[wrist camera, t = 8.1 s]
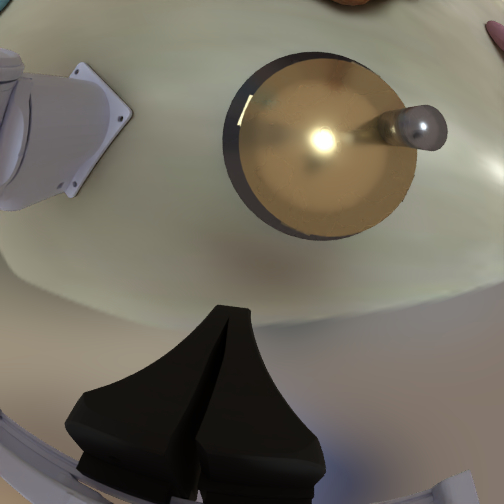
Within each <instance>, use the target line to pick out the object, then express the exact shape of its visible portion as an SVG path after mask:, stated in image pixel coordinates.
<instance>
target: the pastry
mask: <svg viewBox="0 0 504 504" xmlns="http://www.w3.org/2000/svg"><path fill="white" fill-rule="evenodd" d="M332 1H335V2H337V3H339V4H341V5H352V6H354V5H362V4H366V2H368V1H370V0H332Z"/></svg>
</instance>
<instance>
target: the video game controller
mask: <svg viewBox="0 0 504 504" xmlns="http://www.w3.org/2000/svg"><path fill="white" fill-rule="evenodd" d="M486 28H487V31H488V33H489V34H490V36H491V37H492V39H493V40H494V41H495V42H496V44H497V45H498V46H499V47H500V48H501V49H502V50H503V51H504V26H503V25H501V24H499V23H497V22H495V21H488V22H487V24H486Z"/></svg>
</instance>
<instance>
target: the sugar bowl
mask: <svg viewBox="0 0 504 504" xmlns="http://www.w3.org/2000/svg"><path fill="white" fill-rule="evenodd" d="M9 1H10V0H0V11H1V10H2V9H3V8H4V7H5V6H6V5H7V3H8V2H9Z"/></svg>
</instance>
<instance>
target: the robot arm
mask: <svg viewBox="0 0 504 504" xmlns="http://www.w3.org/2000/svg"><path fill="white" fill-rule="evenodd" d="M24 67H25V66H24V64H23V62H22V60H21V57H20V55H19V54H18V53H16V52H14V51H11V50H8V49H4V48H0V210H4V211H17V210H21V209H24V208H26V207H28V206H31V205H33V204H35V203H38V202H40V201H42V200H45V199H47V198H50V197H52V196H55V195H57V194H60V193H63V192H65V193H66V195H67V196H68V197H69V198H73V197H75V195H76V194H77V192H78V191H79V189H80V187H81V186H82V184H83V183H84V181H85V179H86V178H87V176H88V175H89V173H90V172H91V170H92V169H93V167H94V166H95V164H96V163H97V161H98V160H99V159H100V157H101V156H102V154H103V153H104V152H105V150H106V149H107V147H108V146H109V145H110V143H111V142H112V141H113V139H114V138H115V137H116V136H117V134H118V133H119V132H120V130H121V129H122V128H123V127H124V125H125V124H126V123H127V122H128V120H129V119H130V118H131V116H132V110H131V109H130V108H129V107H128V106H127V105H126V103H125V102H124V101H123V100H122V99H121V98H120V97H119V96H118V95H117V94H116V93H115V92H114V91H113V90H112V89H111V88H110V87H109V86H108V85H107V84H106V83H105V82H104V81H103V80H102V79H101V78H100V77H99V76H98V75H97V74H96V73H95V72H94V71H93V70H92V69H91V68H90V67H89V66H88V65H87V63H85V62H80V63H79V64H78V65H77V66H76V68H75V69H74V71H73V72H72V73H71V75H70V76H69V78H68V77H61V76H53V75H44V74H34V73H23V70H24ZM78 71H79V73H78V74H77V72H78ZM122 116H123V121H122V122H121V121H120V118H121V117H122ZM76 183H77V186H76ZM65 428H66V430H67V432H68V433H69V435H70V436H71V437H72V438H73V440H74V441H75V442H76V443H77V444H78V446H79V447H80V448H81V449H82V450H83V451H84V452H83V454H82V456H81V458H80V461H77V460H75V459H73V458H72V457H70V456H68V455H66V454H64V453H62V452H60V451H59V450H57V449H55V448H54V447H52V446H50V445H48V444H47V443H45V442H44V441H42V440H40V439H39V438H37V437H36V436H34V435H33V434H31V433H29V432H28V431H27V430H25V429H24V428H22V427H21V426H20V425H18V424H17V423H16V422H14V421H13V420H11V419H10V418H9V417H8V416H6V415H5V414H4V413H2V411H1V409H0V476H1V477H2V478H3V479H4V480H5V481H6V482H7V483H8V484H10V485H11V486H12V487H13V488H14V489H15V490H16V491H18V492H19V493H20V494H21V495H22V496H24V497H25V498H26V499H27V500H29V501H30V502H31V503H33V504H113V503H112V502H110V501H108V500H107V499H105V498H104V497H103V496H102V495H101V494H99V493H98V492H96V491H94V490H92V489H91V488H89V487H87V486H85V485H83V484H82V483H80V482H79V481H81V482H83V483H85V484H87V485H89V486H91V487H93V488H95V489H97V490H100V491H101V492H104V493H106V494H109V495H111V496H113V497H116V498H118V499H121V500H123V501H126V502H129V503H132V504H312V499H313V497H314V485H315V484H316V483H317V482H318V481H319V480H320V479H321V478H322V477H323V476H324V474H325V473H326V469H325V468H326V466H325V460H324V456H323V452H322V449H321V446H320V443H319V441H318V438H317V437H316V436H315V435H314V434H313V433H312V432H311V431H310V430H309V429H308V428H307V427H306V425H305V424H304V423H303V422H302V421H301V420H300V419H299V418H298V416H297V415H296V414H295V413H294V411H293V410H292V409H291V408H290V406H289V405H288V404H287V402H286V401H285V399H284V398H283V397H282V395H281V393H280V392H279V390H278V389H277V387H276V386H275V384H274V382H273V380H272V378H271V376H270V375H269V373H268V371H267V369H266V367H265V364H264V362H263V360H262V357H261V355H260V352H259V350H258V347H257V343H256V340H255V337H254V333H253V329H252V324H251V311H250V310H249V309H248V308H240V307H232V306H224V305H217V306H215V307H214V309H213V310H212V311H211V312H210V313H209V315H208V316H207V317H206V318H205V319H204V320H203V321H202V322H201V323H200V325H199V326H198V327H197V328H196V329H195V330H194V331H193V332H192V333H191V334H190V335H188V336H187V337H186V338H185V339H184V340H183V341H182V342H180V343H179V344H178V345H177V346H176V347H175V348H174V349H172V350H171V351H170V352H168V353H167V354H166V355H164V356H163V357H161V358H160V359H158V360H157V361H155V362H154V363H152V364H150V365H149V366H147V367H146V368H144V369H142V370H140V371H138V372H137V373H135V374H133V375H130V376H128V377H126V378H124V379H122V380H120V381H117V382H115V383H112V384H110V385H107V386H104V387H100V388H98V389H94V390H91V391H88V392H85V393H83V395H82V396H81V397H80V399H79V400H78V401H77V403H76V405H75V406H74V408H73V410H72V411H71V413H70V415H69V417H68V418H67V420H66V422H65ZM78 480H79V481H78ZM198 490H200V493H201V496H202V499H203V503H200V502H195V501H196V500H197V494H198ZM373 504H479V500H478V496H477V492H476V488H475V485H474V481H473V478H472V474H471V471H470V470H467V471H464V472H461V473H459V474H457V475H454V476H451V477H449V478H447V479H445V480H443V481H441V482H439V483H438V484H436V485H435V486H434V487H433V488H431V489H428V490H425V491H422V492H419V493H415V494H411V495H408V496H404V497H401V498H396V499H392V500H388V501H383V502H378V503H373Z"/></svg>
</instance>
